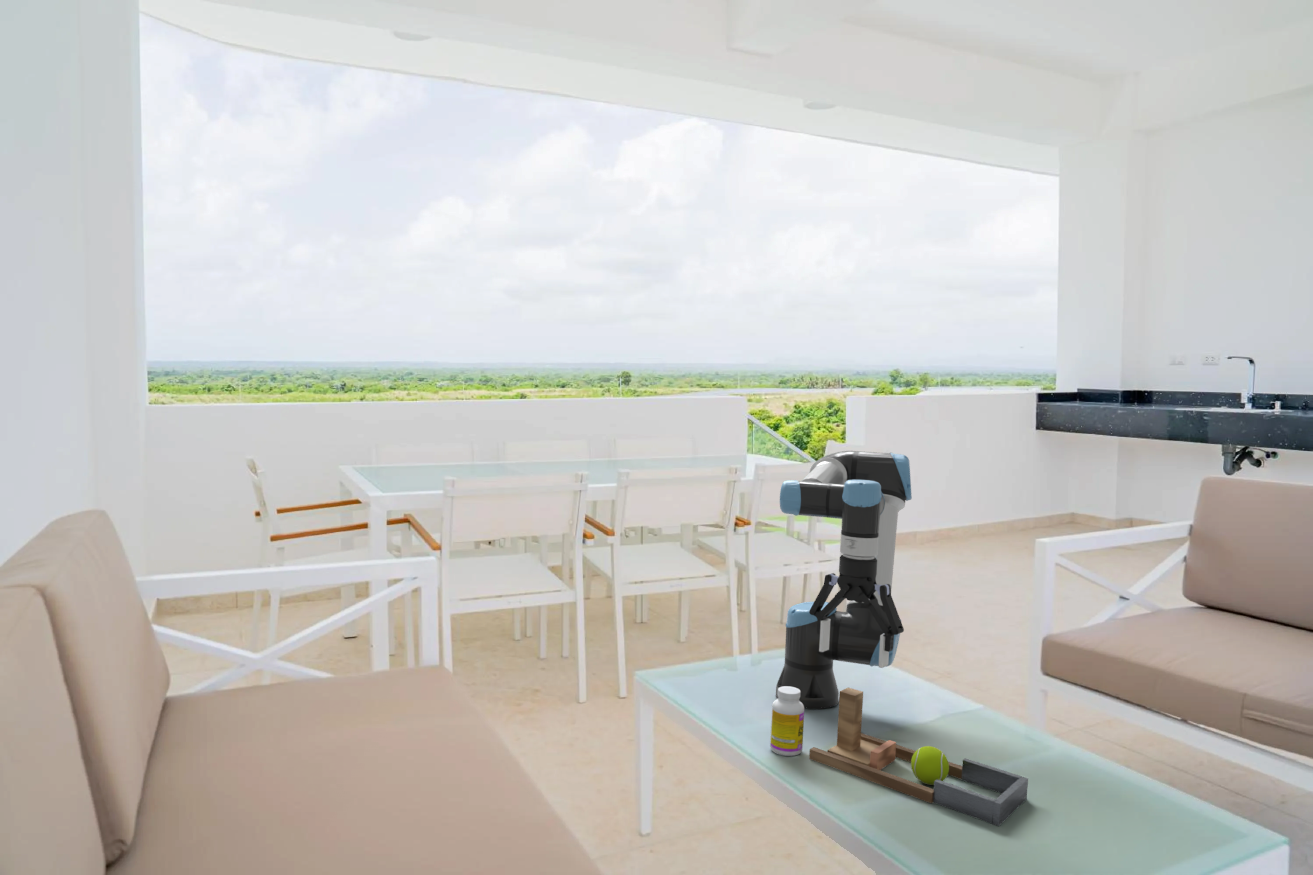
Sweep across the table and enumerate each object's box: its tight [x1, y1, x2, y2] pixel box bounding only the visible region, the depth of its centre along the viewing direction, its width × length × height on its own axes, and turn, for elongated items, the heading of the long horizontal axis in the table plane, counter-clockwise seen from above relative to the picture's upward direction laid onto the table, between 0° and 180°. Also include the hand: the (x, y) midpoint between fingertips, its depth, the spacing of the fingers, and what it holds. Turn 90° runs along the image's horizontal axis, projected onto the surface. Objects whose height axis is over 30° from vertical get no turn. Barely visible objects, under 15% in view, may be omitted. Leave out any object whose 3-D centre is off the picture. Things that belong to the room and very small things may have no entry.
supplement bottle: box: [769, 686, 805, 757], centre depth 179 cm, size 7×7×13 cm
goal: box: [932, 758, 1029, 827], centre depth 160 cm, size 14×12×4 cm
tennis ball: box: [910, 745, 949, 786], centre depth 166 cm, size 7×7×7 cm
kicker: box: [827, 687, 897, 771], centre depth 176 cm, size 10×10×13 cm
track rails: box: [808, 732, 962, 804], centre depth 173 cm, size 16×26×2 cm, turn 48°
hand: (852, 658), depth 177 cm, fingers open, 13 cm apart
